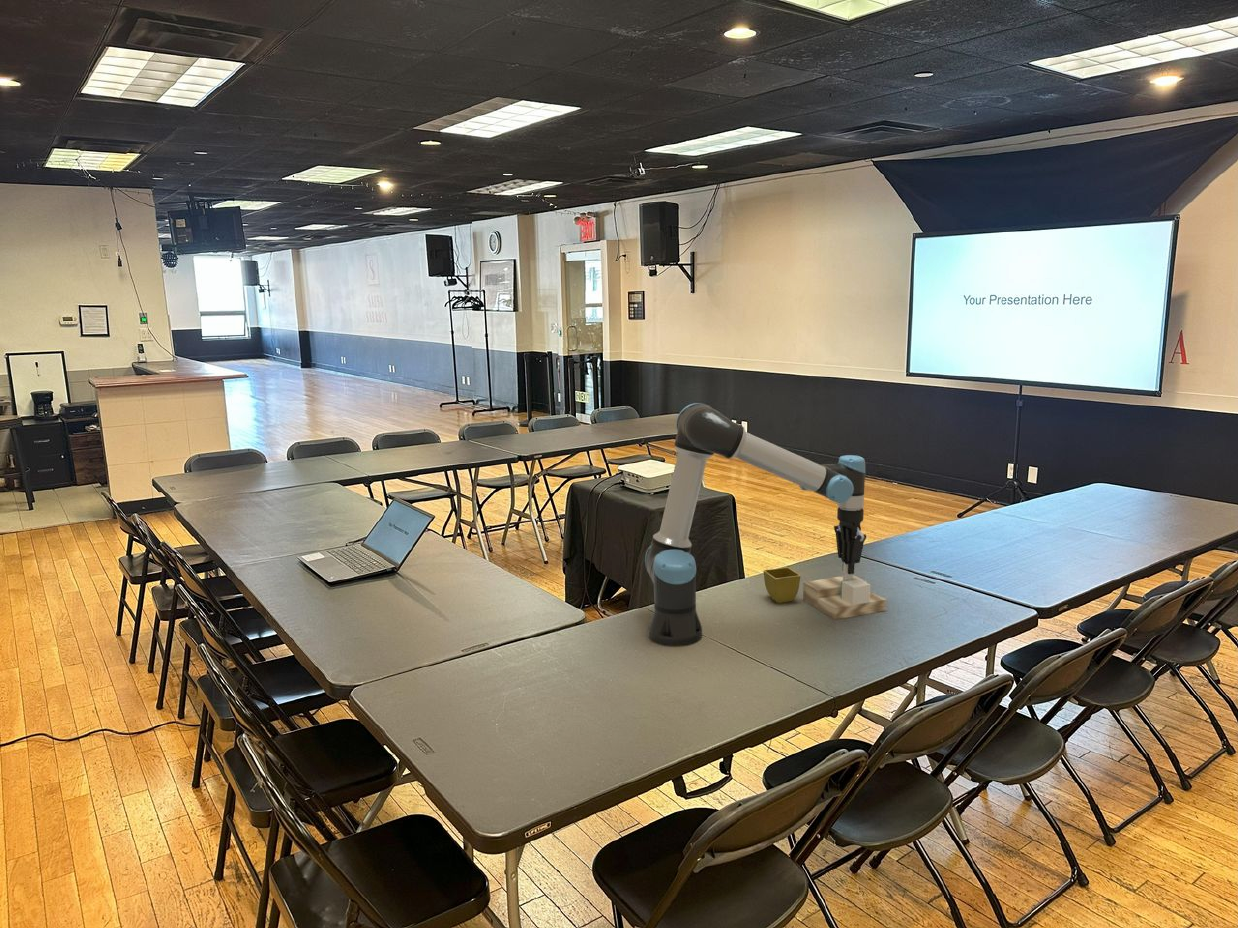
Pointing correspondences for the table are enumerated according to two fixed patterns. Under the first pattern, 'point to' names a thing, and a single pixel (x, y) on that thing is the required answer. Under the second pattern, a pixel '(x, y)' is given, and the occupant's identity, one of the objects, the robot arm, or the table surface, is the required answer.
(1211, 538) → the table surface
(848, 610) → the beech steps
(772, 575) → the flower pot
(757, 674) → the table surface
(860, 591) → the cream block
